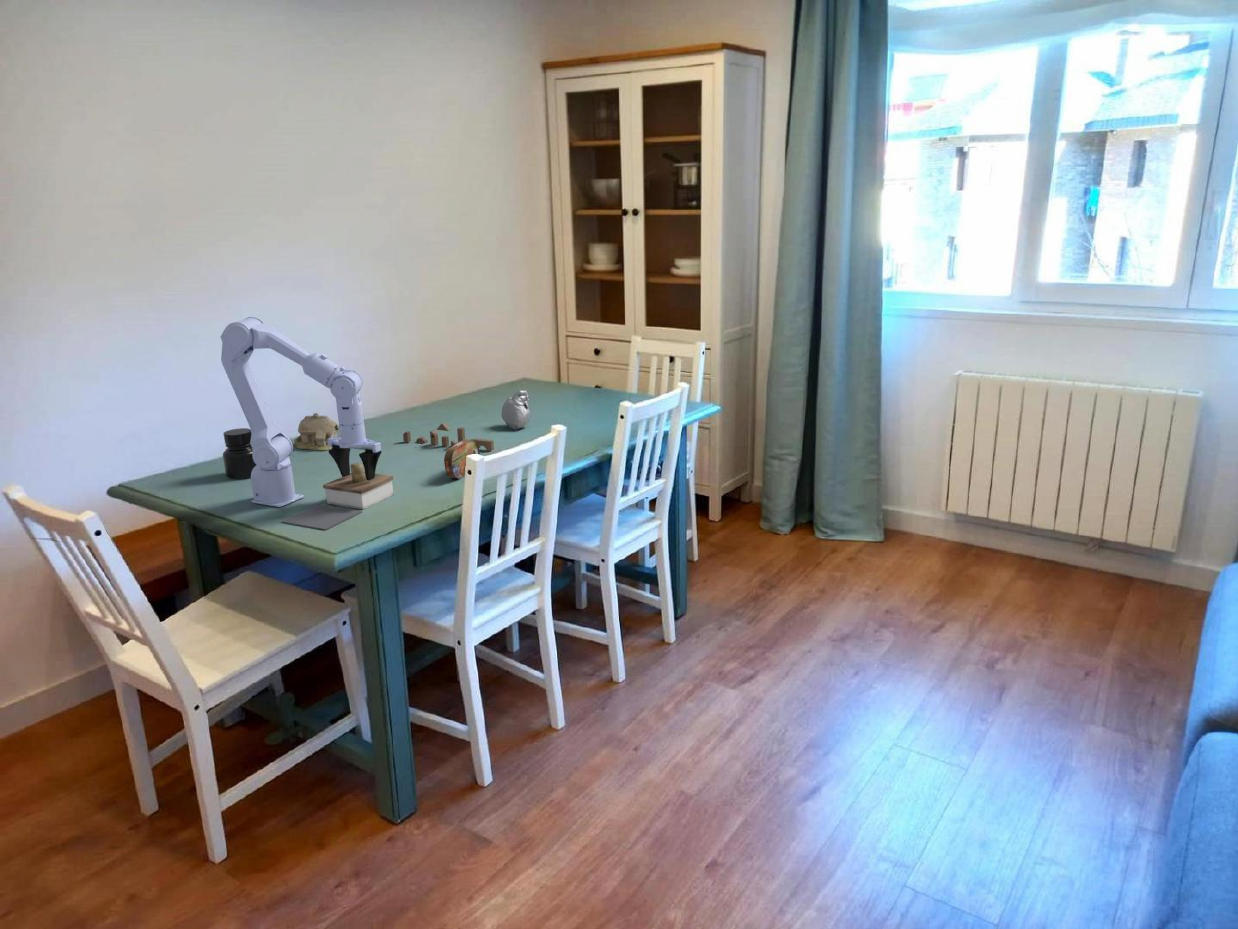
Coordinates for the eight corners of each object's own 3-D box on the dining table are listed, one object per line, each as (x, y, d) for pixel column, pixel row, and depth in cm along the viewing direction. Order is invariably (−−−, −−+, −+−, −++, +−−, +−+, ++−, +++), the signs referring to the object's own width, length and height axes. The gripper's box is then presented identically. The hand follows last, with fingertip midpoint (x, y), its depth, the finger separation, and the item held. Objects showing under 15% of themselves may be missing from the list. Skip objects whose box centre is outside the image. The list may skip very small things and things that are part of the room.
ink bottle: (270, 470, 234) (264, 428, 230) (249, 481, 225) (241, 437, 222) (240, 468, 236) (233, 426, 232) (217, 478, 228) (210, 435, 224)
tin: (454, 483, 220) (451, 451, 218) (443, 482, 221) (440, 450, 219) (481, 465, 234) (479, 435, 231) (471, 464, 235) (469, 434, 232)
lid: (323, 490, 206) (320, 469, 205) (356, 476, 216) (354, 455, 215) (361, 496, 202) (359, 474, 200) (393, 481, 212) (391, 460, 210)
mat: (281, 522, 196) (281, 521, 196) (319, 505, 206) (319, 504, 206) (325, 530, 191) (325, 529, 191) (362, 512, 201) (362, 511, 201)
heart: (498, 423, 275) (496, 388, 269) (527, 419, 277) (526, 385, 272) (504, 436, 266) (502, 400, 261) (534, 433, 269) (533, 397, 263)
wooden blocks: (496, 451, 249) (495, 426, 246) (491, 454, 246) (490, 428, 244) (409, 440, 260) (407, 416, 257) (403, 443, 257) (401, 419, 255)
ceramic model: (349, 440, 261) (345, 408, 258) (334, 451, 250) (330, 418, 247) (304, 440, 262) (300, 408, 259) (288, 451, 251) (283, 418, 248)
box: (327, 503, 207) (325, 488, 206) (358, 489, 217) (356, 474, 216) (363, 509, 203) (361, 493, 202) (393, 494, 212) (391, 479, 211)
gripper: (315, 424, 204) (323, 479, 208) (364, 429, 198) (370, 485, 202) (336, 417, 210) (343, 470, 214) (384, 422, 204) (390, 476, 208)
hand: (358, 477), depth 208 cm, fingers open, 7 cm apart
